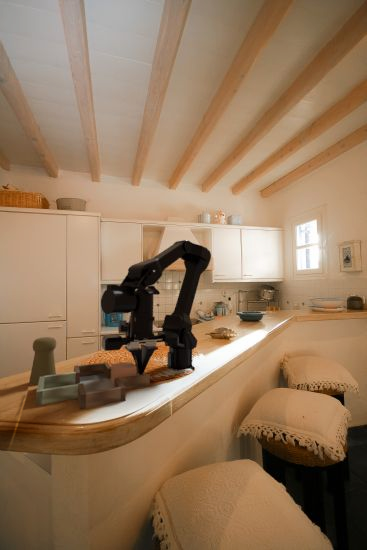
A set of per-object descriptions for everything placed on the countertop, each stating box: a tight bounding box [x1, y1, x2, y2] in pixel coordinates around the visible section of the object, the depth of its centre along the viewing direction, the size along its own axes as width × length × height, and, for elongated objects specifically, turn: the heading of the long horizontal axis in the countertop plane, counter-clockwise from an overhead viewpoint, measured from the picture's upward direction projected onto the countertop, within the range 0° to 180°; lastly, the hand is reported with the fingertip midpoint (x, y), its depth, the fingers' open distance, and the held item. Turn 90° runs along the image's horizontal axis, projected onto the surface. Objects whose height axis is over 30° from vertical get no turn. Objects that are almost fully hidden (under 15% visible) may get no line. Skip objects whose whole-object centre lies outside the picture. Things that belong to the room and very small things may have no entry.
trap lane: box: [35, 361, 151, 410], centre depth 57 cm, size 23×21×3 cm
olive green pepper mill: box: [28, 336, 57, 387], centre depth 62 cm, size 6×6×11 cm
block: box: [110, 361, 136, 385], centre depth 60 cm, size 5×5×4 cm
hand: (140, 374), depth 62 cm, fingers closed
